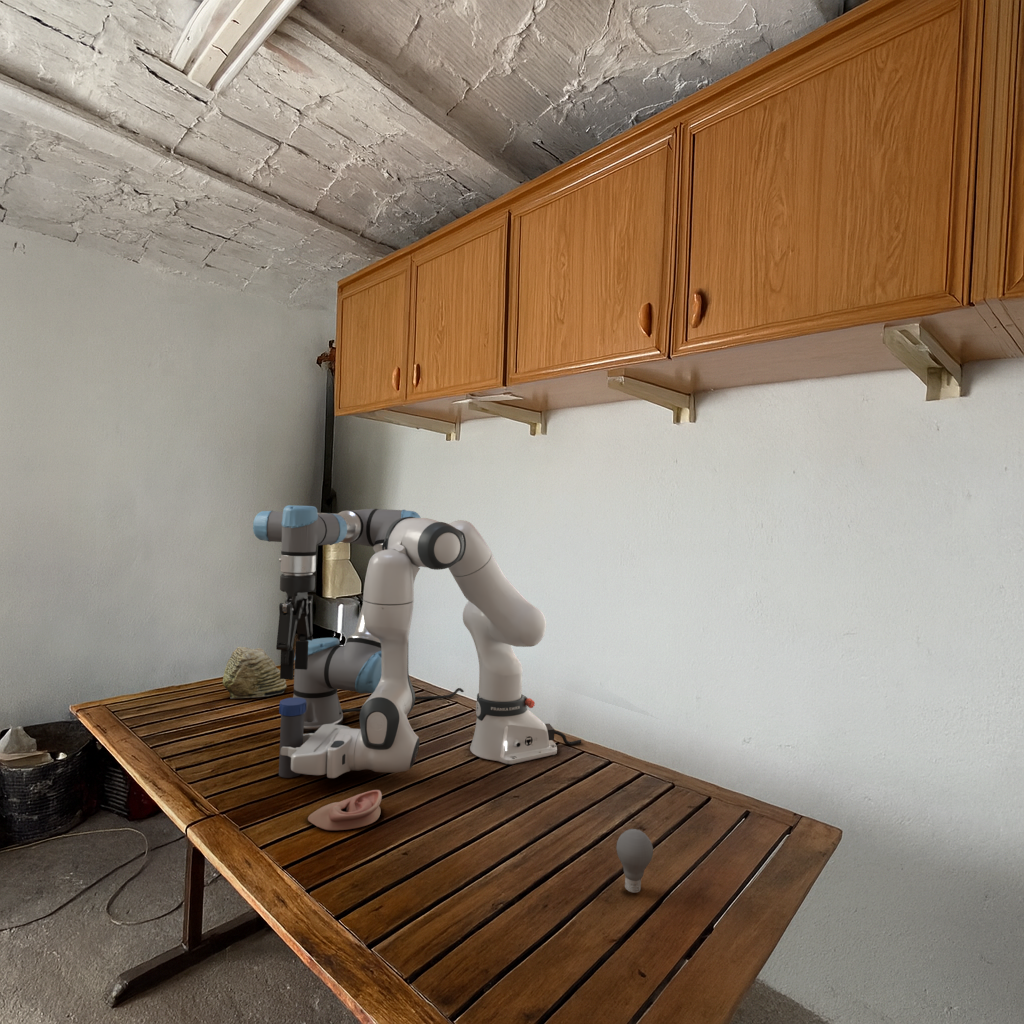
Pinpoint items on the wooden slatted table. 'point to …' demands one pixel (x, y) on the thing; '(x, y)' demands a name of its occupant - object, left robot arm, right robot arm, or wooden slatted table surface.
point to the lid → (292, 706)
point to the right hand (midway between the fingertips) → (287, 744)
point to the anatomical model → (349, 812)
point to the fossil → (252, 674)
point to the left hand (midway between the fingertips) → (294, 673)
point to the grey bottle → (290, 741)
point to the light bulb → (634, 857)
